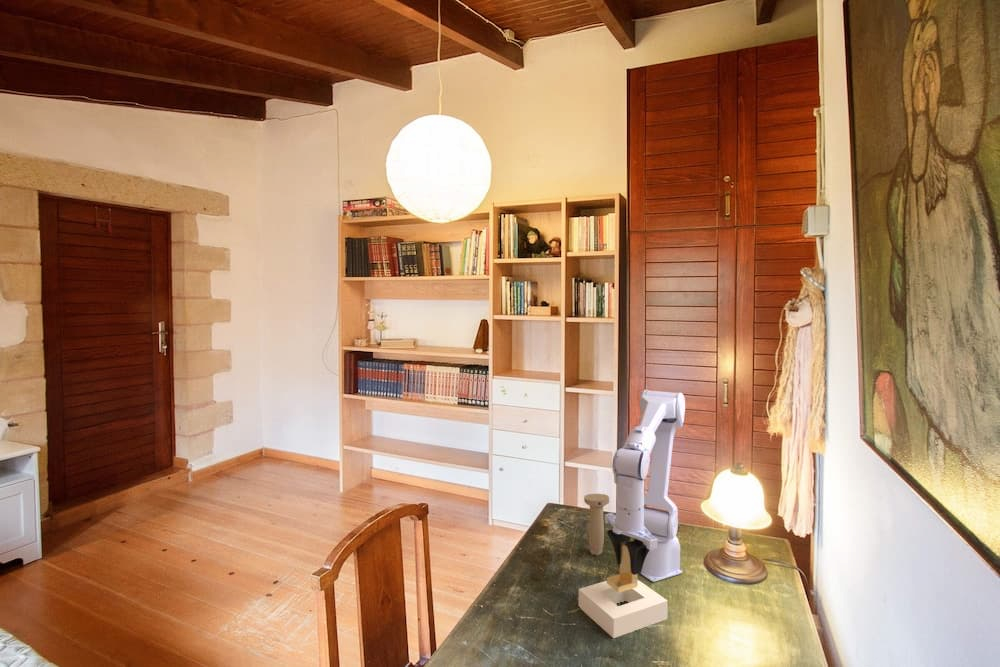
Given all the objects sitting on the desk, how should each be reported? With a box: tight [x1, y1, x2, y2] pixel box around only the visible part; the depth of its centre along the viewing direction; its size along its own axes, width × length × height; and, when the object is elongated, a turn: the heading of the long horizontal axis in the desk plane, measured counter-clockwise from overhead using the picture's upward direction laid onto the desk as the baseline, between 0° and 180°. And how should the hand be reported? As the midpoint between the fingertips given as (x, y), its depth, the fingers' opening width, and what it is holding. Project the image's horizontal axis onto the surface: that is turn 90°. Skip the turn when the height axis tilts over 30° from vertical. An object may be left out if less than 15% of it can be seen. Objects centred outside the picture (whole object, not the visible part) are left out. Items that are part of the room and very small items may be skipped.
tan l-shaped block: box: [606, 541, 639, 593], centre depth 113 cm, size 5×4×8 cm
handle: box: [583, 493, 610, 556], centre depth 140 cm, size 5×6×15 cm
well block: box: [578, 579, 669, 639], centre depth 114 cm, size 14×12×4 cm
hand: (629, 568), depth 114 cm, fingers closed on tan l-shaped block, 4 cm apart
